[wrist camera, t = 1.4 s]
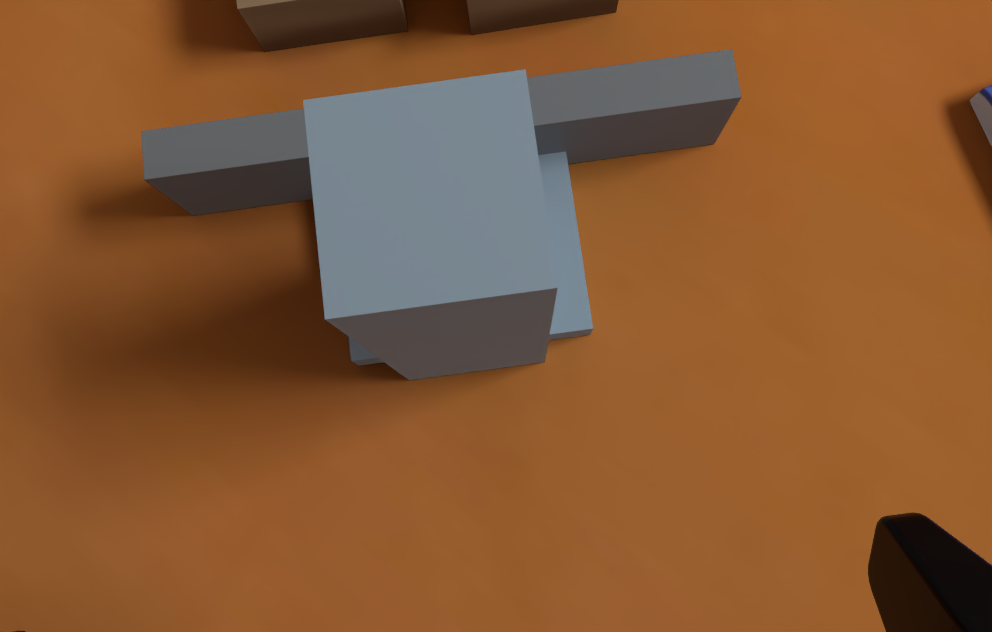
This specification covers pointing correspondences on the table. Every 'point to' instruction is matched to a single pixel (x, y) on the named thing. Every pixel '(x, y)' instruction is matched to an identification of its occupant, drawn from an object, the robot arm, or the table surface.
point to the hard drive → (984, 110)
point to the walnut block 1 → (320, 20)
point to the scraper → (448, 197)
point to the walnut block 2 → (530, 12)
